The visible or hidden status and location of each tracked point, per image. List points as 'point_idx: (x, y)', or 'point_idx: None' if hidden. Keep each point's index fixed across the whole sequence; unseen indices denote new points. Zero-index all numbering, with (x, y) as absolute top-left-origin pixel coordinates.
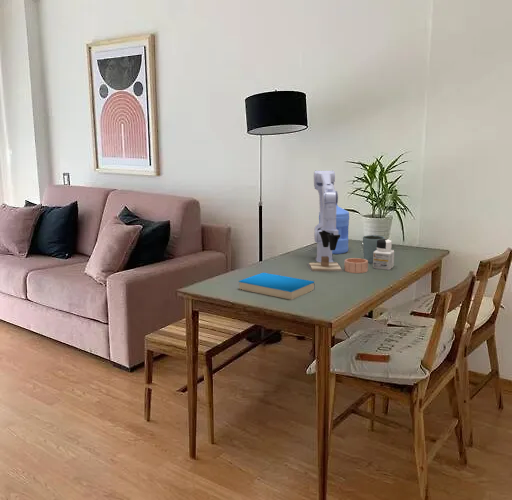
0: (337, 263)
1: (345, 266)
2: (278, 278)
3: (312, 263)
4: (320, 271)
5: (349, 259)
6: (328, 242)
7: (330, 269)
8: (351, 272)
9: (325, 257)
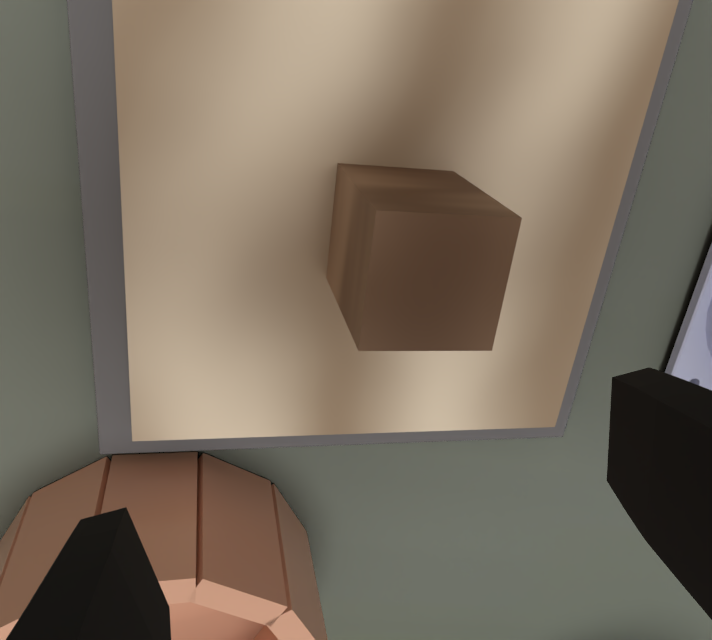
0: (484, 427)
1: None
2: None
3: (600, 28)
4: (74, 67)
5: (279, 634)
6: (701, 592)
7: (126, 271)
8: (11, 531)
9: (401, 288)
